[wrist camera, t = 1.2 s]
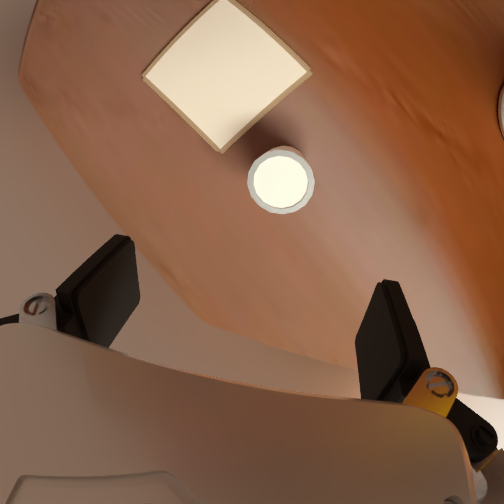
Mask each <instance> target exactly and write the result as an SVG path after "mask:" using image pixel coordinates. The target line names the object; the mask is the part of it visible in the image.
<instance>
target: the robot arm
mask: <svg viewBox="0 0 504 504" xmlns="http://www.w3.org/2000/svg"><path fill="white" fill-rule="evenodd" d="M498 118H499V125H500V128H501V132H502V135H503V137H504V86H503V88H502V90H501V93H500V97H499V103H498ZM56 293H57V295H56V296H55V297H53V296H52V295H50V294H48V293H37V294H34V295H31V296H29V297H28V298H26V299H25V300H24V301H23V303H22V304H21V307H20V313H19V314H16V315H12V316H9V317H4V318H1V319H0V504H504V451H503V449H500V450H498V449H497V448H496V447H497V443H498V437H497V434H496V431H495V429H494V428H493V426H491V425H490V424H489V423H488V422H487V421H486V420H484V419H483V418H482V417H480V416H479V415H478V414H476V413H475V412H474V411H472V410H471V409H470V408H468V407H467V406H466V405H465V404H463V403H462V402H461V401H460V400H458V399H457V398H456V396H457V394H458V385H457V382H456V380H455V379H454V377H453V376H452V375H451V374H450V373H449V372H447V371H446V370H444V369H441V368H437V367H433V368H430V364H429V361H428V358H427V355H426V352H425V349H424V346H423V343H422V340H421V337H420V334H419V332H418V329H417V326H416V323H415V321H414V319H413V317H412V315H411V312H410V309H409V307H408V304H407V302H406V299H405V297H404V294H403V292H402V289H401V287H400V284H399V282H397V281H392V280H385V279H384V280H383V281H382V282H381V283H380V282H378V283H377V285H376V287H375V290H374V293H373V295H372V298H371V301H370V303H369V306H368V308H367V311H366V313H365V316H364V318H363V321H362V323H361V326H360V328H359V330H358V333H357V335H356V339H355V347H356V355H357V364H358V372H359V382H360V392H361V399H356V398H345V397H336V396H327V395H318V394H310V393H302V392H295V391H287V390H282V389H275V388H269V387H263V386H258V385H252V384H247V383H241V382H236V381H230V380H226V379H222V378H217V377H212V376H208V375H203V374H199V373H194V372H190V371H187V370H182V369H178V368H175V367H171V366H167V365H164V364H160V363H156V362H152V361H149V360H145V359H142V358H139V357H135V356H132V355H128V354H125V353H122V352H119V351H116V350H113V349H110V348H109V346H110V345H111V343H112V342H113V340H114V339H115V337H116V336H117V334H118V333H119V331H120V330H121V328H122V327H123V325H124V324H125V323H126V321H127V320H128V318H129V317H130V315H131V314H132V312H133V311H134V310H135V308H136V307H137V305H138V304H139V300H140V290H139V282H138V274H137V265H136V255H135V245H134V242H133V241H132V240H131V238H130V237H129V236H124V235H118V234H116V235H114V236H113V237H112V238H111V239H110V240H108V241H107V242H106V243H105V244H104V245H103V246H102V247H100V248H99V249H98V250H97V251H96V252H95V253H94V254H93V255H92V256H91V257H90V258H88V259H87V260H86V261H85V262H84V263H83V264H82V265H81V266H80V267H79V268H78V269H77V270H75V271H74V272H73V273H72V274H71V275H70V276H69V277H68V278H67V279H66V280H65V281H64V282H63V283H62V284H61V285H60V286H59V287H58V288H57V289H56Z"/></svg>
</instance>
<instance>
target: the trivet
mask: <svg viewBox="0 0 504 504" xmlns="http://www.w3.org/2000/svg"><path fill="white" fill-rule="evenodd" d="M310 70H311V68H310V67H309V66H308V65H307V64H306V63H305V62H304V61H303V60H302V59H301V58H300V57H299V56H298V55H297V54H296V53H295V52H294V51H293V50H292V49H291V48H290V47H288V46H287V45H286V44H285V43H284V42H283V41H282V40H281V39H280V38H279V37H278V36H277V35H276V34H274V33H273V32H272V31H271V30H270V29H269V28H268V27H267V26H265V25H264V24H263V23H262V22H261V21H260V20H258V19H257V18H256V17H255V16H254V15H253V14H251V13H250V12H249V11H248V10H246V9H245V8H244V7H243V6H241V5H240V4H239V3H238V2H236V1H235V0H213V1H212V2H211V3H210V4H209V5H208V6H207V7H206V8H204V9H203V10H202V11H201V12H200V13H199V14H198V15H197V16H196V17H195V18H194V19H193V20H192V21H191V22H190V23H189V24H188V25H187V26H186V27H185V28H184V29H183V30H182V31H181V32H180V33H179V34H178V35H177V36H176V37H175V38H174V39H173V40H172V41H171V42H170V43H169V44H168V45H167V46H166V48H165V49H164V50H163V51H162V52H161V53H160V54H159V55H158V56H157V58H156V59H155V60H154V61H153V62H152V63H151V64H150V66H149V67H148V68H147V69H146V70H145V72H144V73H143V74H142V75H141V76H142V77H143V78H144V79H143V81H144V82H145V83H147V84H148V85H149V86H150V87H151V88H152V89H153V90H154V91H155V92H156V93H157V94H158V95H159V96H160V97H161V98H162V99H163V100H165V101H166V102H167V103H168V104H169V105H170V106H171V107H172V108H173V109H174V110H175V111H176V112H177V113H178V114H179V115H180V116H181V117H182V118H183V119H184V120H185V121H186V122H187V123H188V124H189V125H190V126H191V127H192V128H193V129H194V130H195V131H196V132H197V133H198V134H199V135H200V136H201V137H202V138H203V139H204V140H205V141H206V142H207V143H208V144H209V145H210V146H211V147H212V148H213V149H214V150H215V151H216V152H218V151H220V152H221V153H222V154H223V153H224V152H225V151H226V150H227V149H228V148H229V147H231V146H232V145H233V144H234V143H235V142H236V141H237V140H238V139H239V138H240V137H241V136H242V135H243V134H244V133H245V132H247V131H248V130H249V129H250V128H251V127H252V126H253V125H254V124H255V123H256V122H258V121H259V120H260V119H261V118H262V117H263V116H264V115H265V114H267V113H268V112H269V111H270V110H271V109H272V108H273V107H274V106H276V105H277V104H278V103H279V102H280V101H281V100H283V99H284V98H285V97H286V96H287V95H288V94H290V93H291V92H292V91H293V90H294V89H296V88H297V87H298V86H299V85H300V84H302V83H303V82H304V81H305V80H307V79H308V78H309V77H310V76H311V75H313V74H312V73H311V72H310Z"/></svg>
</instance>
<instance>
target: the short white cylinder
mask: <svg viewBox="0 0 504 504" xmlns="http://www.w3.org/2000/svg"><path fill="white" fill-rule="evenodd" d="M314 183H315V181H314V177H313V173H312V169H311V167H310V166H309V164H308V162H307V161H306V159H305V158H304V156H303V155H302V154H301V152H300V151H298V150H297V149H295V148H293V147H290V146H279V147H274V148H273V149H271V150H269V151H268V152H266V153H264V154H263V155H262V156H260V157H259V158H258V159H256V160H255V161H254V163H253V165H252V167H251V168H250V170H249V173H248V183H247V185H248V188H249V191H250V194H251V197H252V198H253V199H254V200H255V201H256V203H257V204H258V205H259V206H260V207H262V208H264V209H266V210H267V211H269V212H272V213H279V214H286V213H291V212H295V211H297V210H298V209H300V208H301V207H303V206H304V205H306V203H307V202H308V200H309V199H310V197H311V196H312V194H313V189H314Z"/></svg>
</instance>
